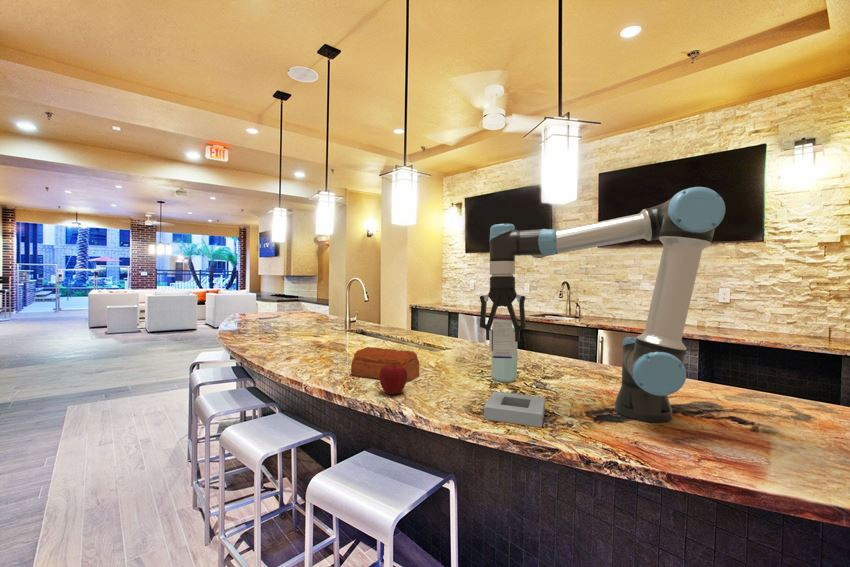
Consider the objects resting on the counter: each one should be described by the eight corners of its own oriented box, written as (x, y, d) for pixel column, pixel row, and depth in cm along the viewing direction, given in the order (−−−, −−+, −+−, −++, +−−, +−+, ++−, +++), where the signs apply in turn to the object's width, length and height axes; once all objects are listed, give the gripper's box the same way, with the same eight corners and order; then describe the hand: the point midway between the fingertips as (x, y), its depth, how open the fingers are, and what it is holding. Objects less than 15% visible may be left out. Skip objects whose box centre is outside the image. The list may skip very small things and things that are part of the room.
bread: (406, 384, 145) (406, 356, 145) (346, 376, 156) (347, 350, 155) (423, 375, 159) (423, 349, 159) (367, 368, 170) (367, 344, 170)
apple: (400, 399, 127) (401, 368, 127) (374, 395, 131) (374, 366, 130) (410, 391, 136) (411, 362, 136) (386, 388, 139) (386, 360, 139)
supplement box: (512, 358, 114) (511, 319, 114) (492, 358, 115) (491, 320, 115) (512, 354, 119) (511, 317, 119) (493, 354, 121) (492, 318, 121)
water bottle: (522, 380, 152) (523, 317, 151) (504, 384, 146) (505, 318, 146) (503, 375, 160) (504, 315, 160) (485, 378, 154) (486, 316, 154)
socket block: (544, 408, 120) (545, 397, 120) (541, 427, 105) (542, 414, 105) (493, 402, 126) (493, 391, 125) (483, 419, 111) (483, 406, 110)
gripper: (536, 275, 117) (536, 351, 117) (474, 276, 124) (474, 347, 124) (534, 275, 110) (534, 356, 110) (468, 276, 117) (468, 352, 117)
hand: (502, 351), depth 117 cm, fingers closed on supplement box, 6 cm apart
